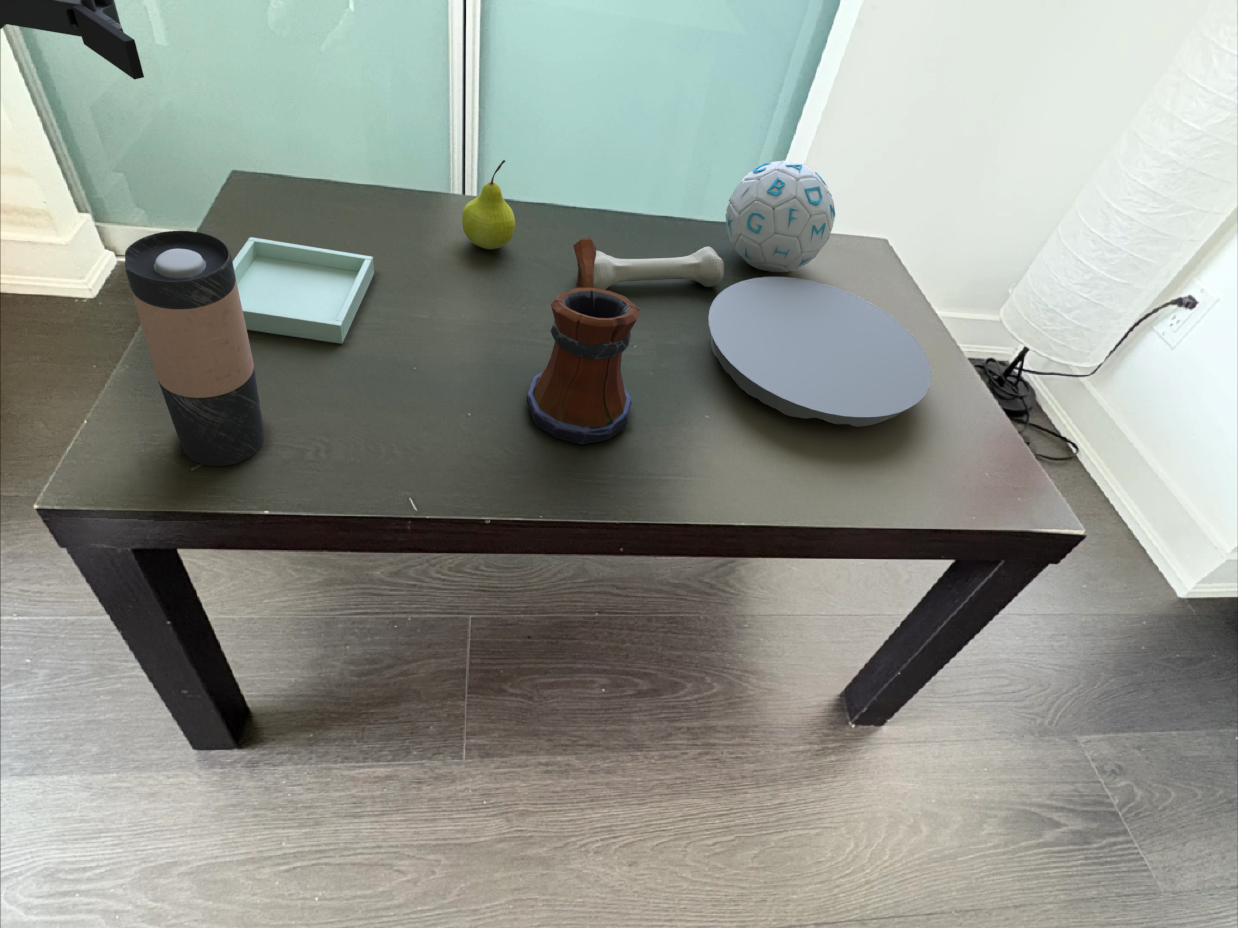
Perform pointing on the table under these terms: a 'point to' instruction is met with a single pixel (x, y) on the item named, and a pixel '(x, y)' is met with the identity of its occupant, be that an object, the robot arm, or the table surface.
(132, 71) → the robot arm
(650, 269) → the dog toy
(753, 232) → the puzzle ball
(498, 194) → the fruit
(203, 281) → the travel mug
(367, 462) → the table surface
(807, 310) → the flat disc
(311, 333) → the tray
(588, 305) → the mug
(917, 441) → the table surface
